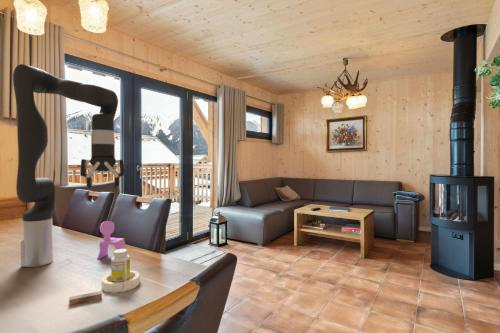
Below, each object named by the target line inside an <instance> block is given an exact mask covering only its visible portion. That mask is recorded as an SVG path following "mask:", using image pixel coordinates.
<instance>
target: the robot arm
mask: <svg viewBox="0 0 500 333" xmlns="http://www.w3.org/2000/svg"><path fill="white" fill-rule="evenodd" d="M12 75H13V76H12V82H13V89H14V90H13V91H14V98H15V103H16V116H17V123H16V124H17V126H16V127H17V128H16V129H17V135H16V136H17V145H18V146H17V149H18V150H17V152H18V153H17V154H18V158H17V161H18V162H17V165H18V166H17V175H16V183H15V184H16V188H15V189H16V195H17V198H18V200H19V201H20V202H21V203H24V204H30V203H34V205H33V206H32V207H30V208H29V209H28V210H25V212H23V213H22V240H21V241H20V267H23V268H24V267H25V268H37V267H42V266H46V265H49V264H51V263H52V262H53V261H54V258H53V257H54V252H53V249H54V247H53V241H54V240H53V239H54V238H53V237H54V236H53V213H54V211H55V201H56V200H55V199H56V187H55V183H54V182H53V180H52V179H51V178H50V177H36V172H37V170H36V168H37V164H38V162H39V159H41V157H42V156H43V154H44V152H45V151H46V149H47V146H48V143H49V142H48V141H49V140H48V139H49V136H48V131H49V130H48V125H47V123H46V121H45V119H44V117H43V115H42V113H41V112H40V111H39V108H38V107H37V105H36V102H35V95H34V93H36V94H49V95H50V94H51V95H59V96H61V97H64V98H66V99H69V100H73V101H77V102H80V103H81V102H82V103H86V104H89V105H92V106H95V107H99V108H100V110H99V112H98V113H95V114H93V115H92V117H91V136H90V137H91V138H90V139H91V141H90V142H91V143H90V144H91V150H90V151H91V155H90V156H91V158H90V159H86V158H84V159H83V158H82V159H80V162H81V163H80V176H81V177H84V178H86V188H88V189H92V188H93V177H92V176H93V175H94V174H95V173H96V172H103V171H104V172H111V174H112V175H113V176H114V188H115V189H117V188H118V187H119V186H120V178H121V177H123V176H125V175H126V171H125V170H126V169H125V168H126V167H125V160H124V159H121V158H120V159H116V155H115V153H116V152H115V149H116V148H115V145H116V144H115V143H116V141H115V139H116V137H115V130H114V129H115V125H114V124H115V122H114V121H115V120H114V119H115V117H116V113H117V108H118V105H119V98H118V96H117V93H116V92H115V91H113V90H112V89H109V88H106V87H103V86H100V85H95V84H92V83H86V82H83V81H82V82H81V81H79V80H75V79H68V78H65V79H63V78H59V77H58V76H55V75H53V74H51V73H49V72H47V71H45V70H43V69H41V68H37V67H35V66H32V65H28V64H24V63H20V64H18V65H16V66H15V68H14V70H13V74H12ZM90 164H91V165H90ZM116 164H117V165H118V166H119V172H120V173H119V172H118V171H117V169H116V168H115V165H116ZM89 165H90V166H92V168H91V169H90V170H89V172H87V166H89Z"/></svg>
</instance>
